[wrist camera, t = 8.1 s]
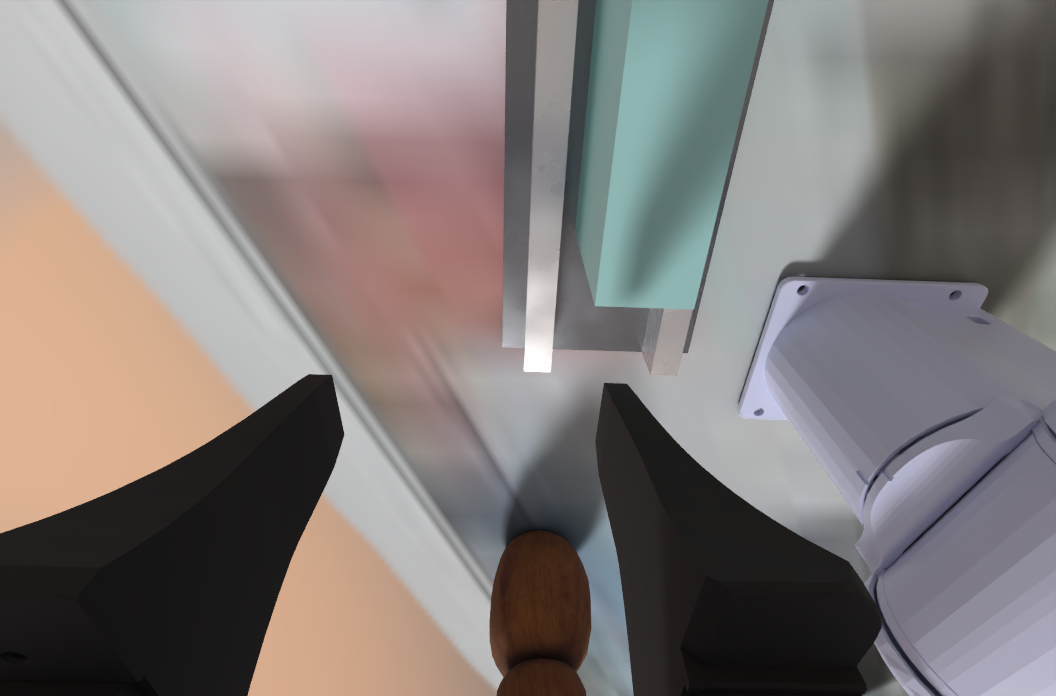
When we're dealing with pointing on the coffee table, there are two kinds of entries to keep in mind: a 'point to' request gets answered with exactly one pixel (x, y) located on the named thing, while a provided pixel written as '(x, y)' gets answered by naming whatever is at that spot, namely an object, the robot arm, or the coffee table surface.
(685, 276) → the door panel
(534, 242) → the track
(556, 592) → the wooden figurine
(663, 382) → the coffee table surface
